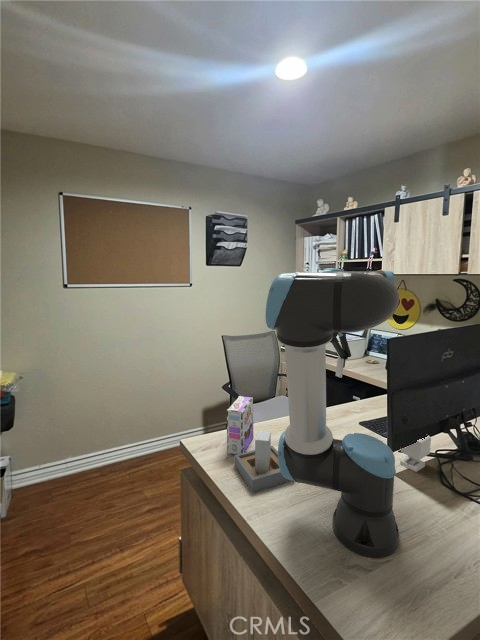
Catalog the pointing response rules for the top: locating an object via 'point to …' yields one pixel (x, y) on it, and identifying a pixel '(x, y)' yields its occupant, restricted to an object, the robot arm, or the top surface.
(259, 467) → the skincare box
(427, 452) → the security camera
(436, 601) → the top surface
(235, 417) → the candy box
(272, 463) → the bore box
